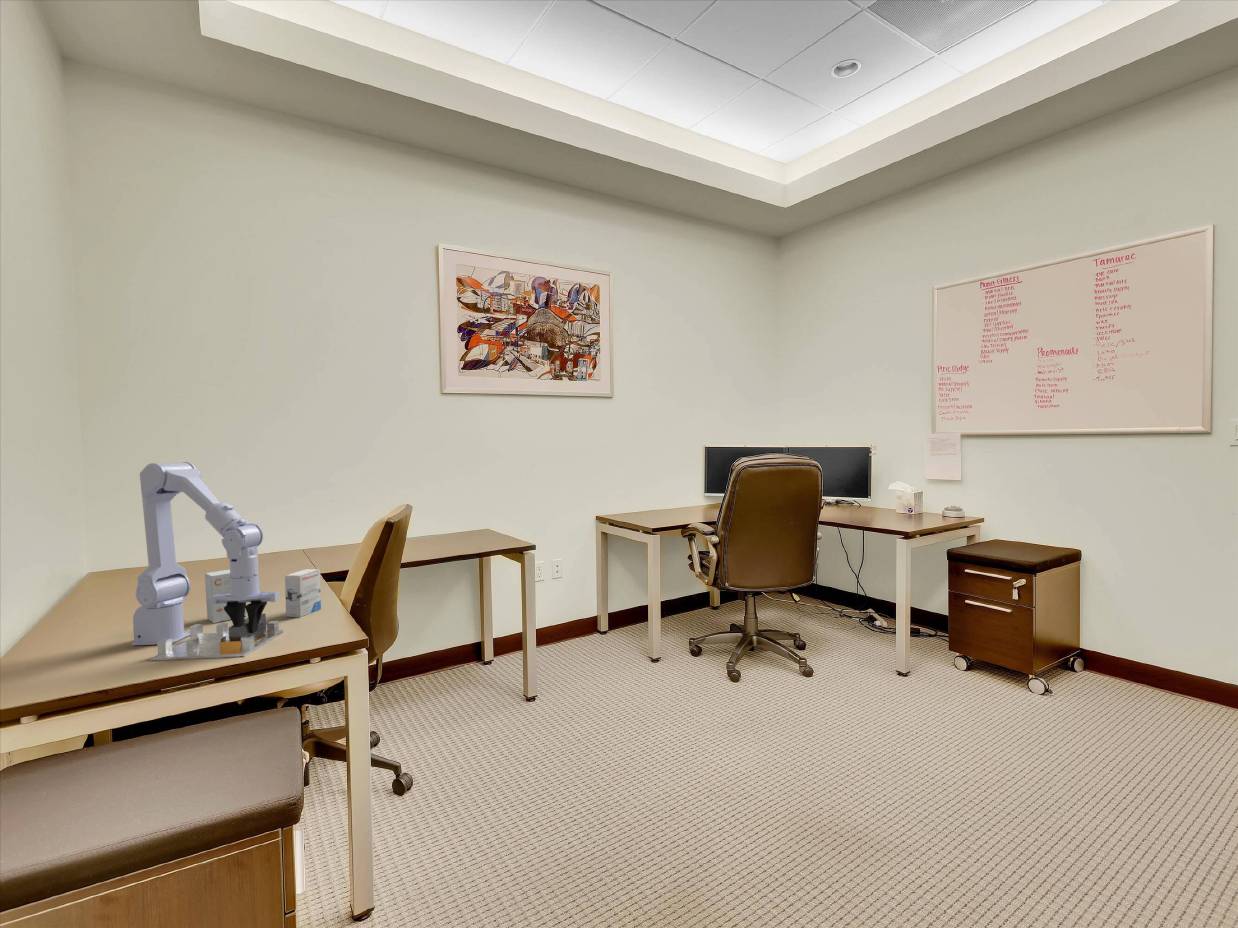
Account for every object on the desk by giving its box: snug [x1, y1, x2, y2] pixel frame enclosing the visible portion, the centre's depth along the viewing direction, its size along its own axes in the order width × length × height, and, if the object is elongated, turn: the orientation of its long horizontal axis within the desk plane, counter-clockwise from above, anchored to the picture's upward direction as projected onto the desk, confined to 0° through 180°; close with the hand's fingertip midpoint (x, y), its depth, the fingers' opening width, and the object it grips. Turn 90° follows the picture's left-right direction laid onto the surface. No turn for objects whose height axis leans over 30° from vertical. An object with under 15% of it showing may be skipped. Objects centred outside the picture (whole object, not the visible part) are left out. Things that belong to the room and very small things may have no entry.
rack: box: [151, 620, 284, 662], centre depth 140 cm, size 20×17×4 cm
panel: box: [228, 613, 267, 641], centre depth 141 cm, size 2×11×5 cm, turn 3°
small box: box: [204, 569, 248, 624], centre depth 163 cm, size 8×6×13 cm
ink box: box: [284, 568, 322, 618], centre depth 167 cm, size 9×5×12 cm, turn 168°
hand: (247, 632), depth 140 cm, fingers closed on panel, 2 cm apart
